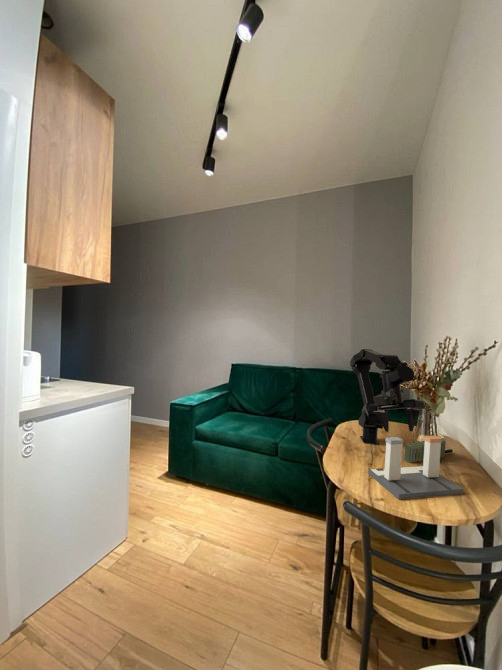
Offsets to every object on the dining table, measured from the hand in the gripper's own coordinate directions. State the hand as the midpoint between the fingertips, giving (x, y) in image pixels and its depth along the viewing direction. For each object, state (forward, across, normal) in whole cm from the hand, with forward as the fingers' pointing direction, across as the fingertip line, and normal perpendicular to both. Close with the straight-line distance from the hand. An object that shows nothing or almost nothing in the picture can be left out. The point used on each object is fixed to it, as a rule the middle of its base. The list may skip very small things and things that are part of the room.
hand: (398, 431), depth 94 cm
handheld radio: (+9, -3, +21) cm, 23 cm away
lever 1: (+14, +3, -11) cm, 18 cm away
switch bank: (+16, +5, -3) cm, 17 cm away
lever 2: (+13, +7, +3) cm, 15 cm away
